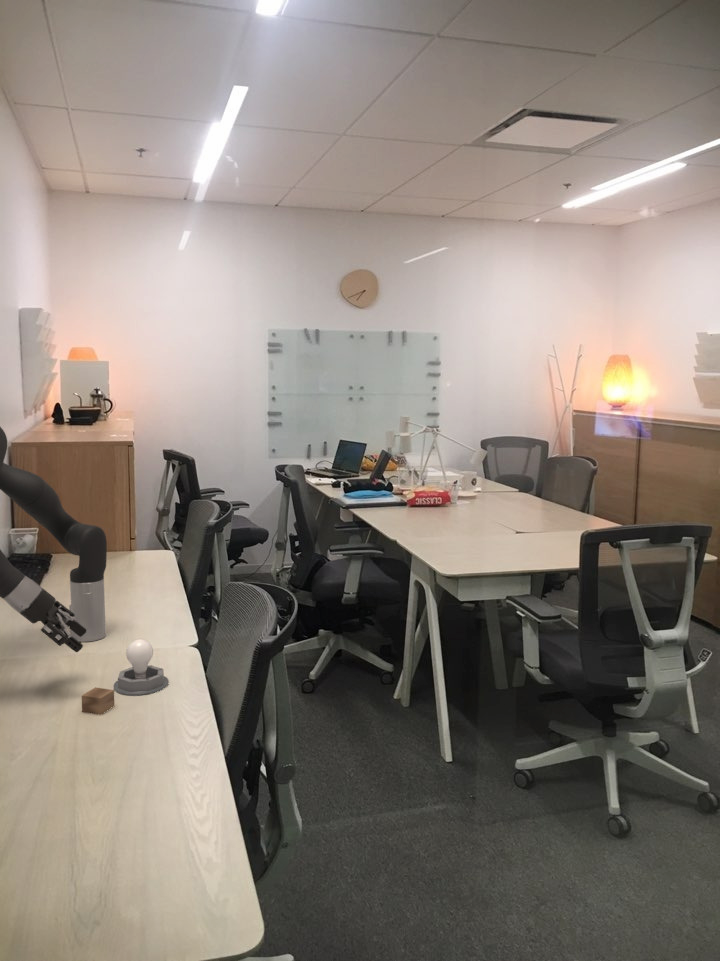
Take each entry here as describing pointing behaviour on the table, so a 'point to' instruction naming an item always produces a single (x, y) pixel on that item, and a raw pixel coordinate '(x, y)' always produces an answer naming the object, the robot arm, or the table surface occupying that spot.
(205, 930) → the table surface
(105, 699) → the walnut block
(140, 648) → the lightbulb
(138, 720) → the table surface
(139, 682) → the socket collar
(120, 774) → the table surface
